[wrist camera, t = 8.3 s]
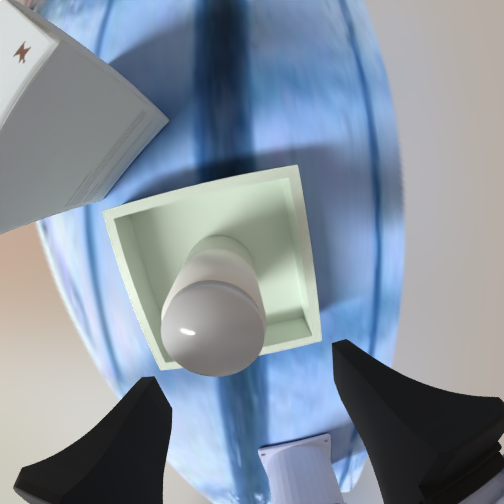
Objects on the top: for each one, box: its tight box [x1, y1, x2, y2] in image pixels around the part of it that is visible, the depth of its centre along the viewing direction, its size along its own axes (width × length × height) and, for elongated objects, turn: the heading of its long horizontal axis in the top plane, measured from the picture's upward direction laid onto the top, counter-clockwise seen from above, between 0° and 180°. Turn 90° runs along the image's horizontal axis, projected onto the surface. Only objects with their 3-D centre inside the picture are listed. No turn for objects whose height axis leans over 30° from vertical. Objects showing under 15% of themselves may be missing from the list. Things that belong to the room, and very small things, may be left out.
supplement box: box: [0, 0, 169, 234], centre depth 9 cm, size 7×7×13 cm
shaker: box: [161, 235, 267, 377], centre depth 14 cm, size 4×4×8 cm
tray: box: [102, 165, 322, 370], centre depth 17 cm, size 11×11×3 cm
